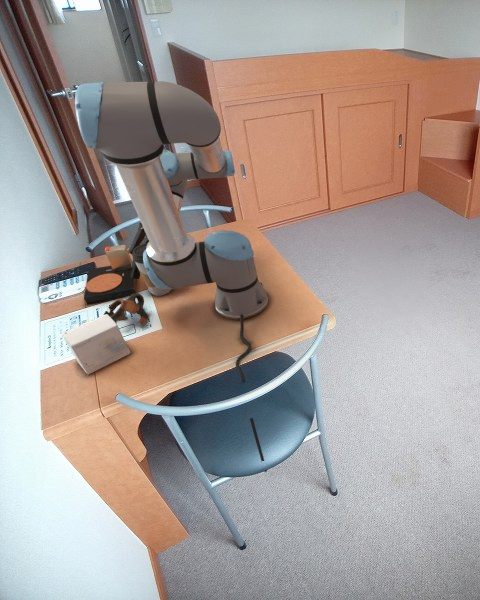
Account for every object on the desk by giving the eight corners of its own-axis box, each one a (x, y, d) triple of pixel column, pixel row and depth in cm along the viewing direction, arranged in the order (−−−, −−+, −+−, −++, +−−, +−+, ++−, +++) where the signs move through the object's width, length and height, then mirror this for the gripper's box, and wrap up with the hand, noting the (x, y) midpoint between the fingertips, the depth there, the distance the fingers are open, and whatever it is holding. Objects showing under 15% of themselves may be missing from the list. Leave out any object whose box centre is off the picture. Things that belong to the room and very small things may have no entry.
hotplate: (143, 293, 132) (140, 286, 130) (87, 304, 126) (83, 297, 125) (143, 263, 144) (140, 257, 142) (91, 272, 139) (88, 265, 137)
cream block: (133, 263, 139) (125, 243, 134) (133, 268, 137) (124, 248, 132) (114, 267, 137) (105, 246, 132) (113, 271, 135) (104, 251, 130)
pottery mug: (142, 334, 118) (115, 318, 113) (120, 340, 122) (93, 325, 116) (160, 300, 126) (136, 283, 120) (139, 306, 129) (115, 290, 123)
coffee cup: (179, 291, 133) (166, 251, 124) (151, 301, 129) (134, 260, 120) (171, 279, 138) (157, 239, 129) (143, 288, 134) (126, 247, 124)
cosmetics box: (88, 376, 106) (70, 346, 99) (78, 362, 109) (59, 333, 102) (131, 353, 112) (117, 324, 106) (121, 342, 115) (106, 312, 109)
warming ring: (121, 288, 129) (121, 287, 129) (84, 295, 126) (84, 294, 125) (122, 271, 136) (122, 270, 136) (87, 278, 132) (87, 277, 132)
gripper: (205, 218, 132) (189, 288, 130) (142, 208, 135) (125, 277, 132) (191, 209, 125) (174, 284, 122) (125, 200, 127) (107, 273, 125)
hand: (149, 281), depth 127 cm, fingers open, 9 cm apart
